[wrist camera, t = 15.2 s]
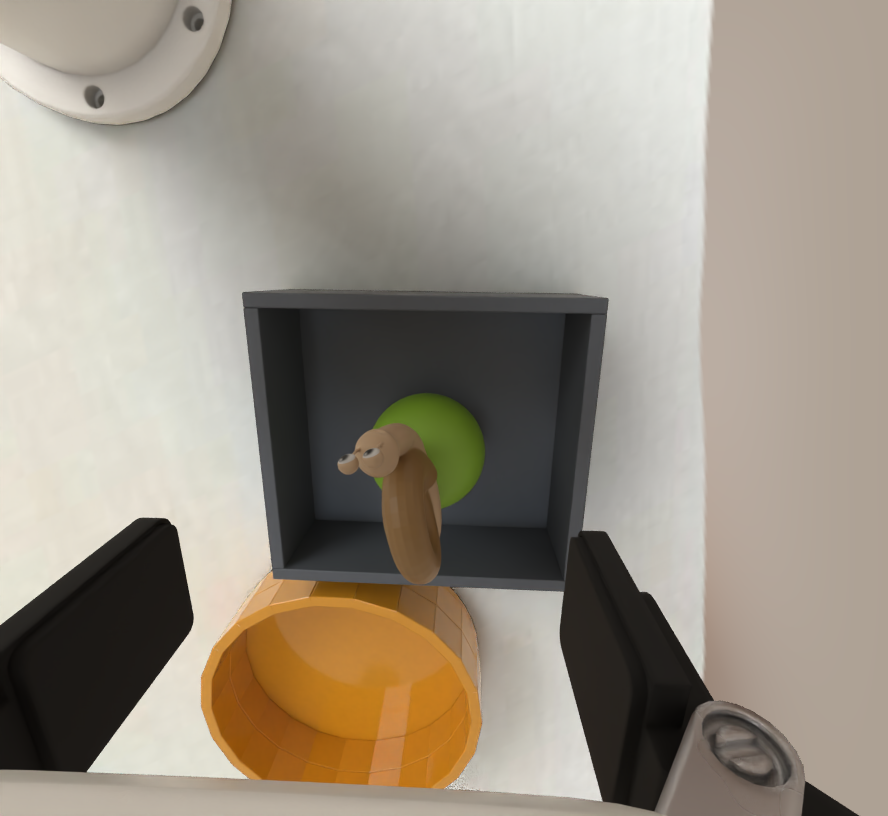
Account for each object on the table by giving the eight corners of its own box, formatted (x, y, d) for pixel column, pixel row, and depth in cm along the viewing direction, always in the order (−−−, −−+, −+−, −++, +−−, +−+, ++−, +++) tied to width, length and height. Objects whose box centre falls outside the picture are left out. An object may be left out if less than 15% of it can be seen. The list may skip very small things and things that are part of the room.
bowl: (226, 539, 26) (179, 590, 22) (484, 550, 26) (488, 604, 21) (253, 732, 31) (218, 806, 26) (475, 745, 30) (477, 823, 26)
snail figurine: (463, 351, 22) (462, 429, 11) (493, 467, 24) (519, 644, 12) (361, 377, 23) (253, 478, 11) (396, 488, 24) (334, 675, 13)
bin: (289, 289, 22) (241, 292, 17) (577, 293, 22) (609, 298, 17) (308, 523, 26) (272, 579, 21) (554, 533, 25) (575, 592, 20)
